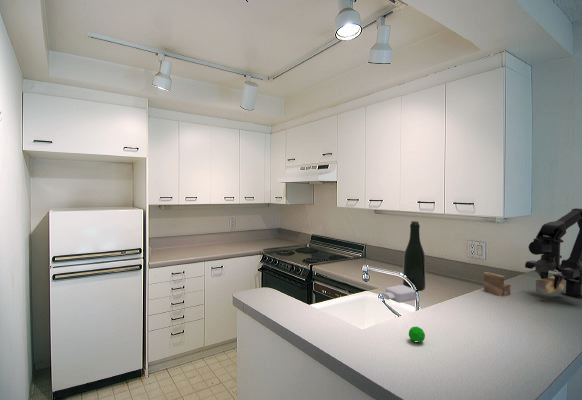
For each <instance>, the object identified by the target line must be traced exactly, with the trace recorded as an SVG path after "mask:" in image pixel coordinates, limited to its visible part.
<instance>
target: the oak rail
mask: <svg viewBox="0 0 582 400" xmlns="http://www.w3.org/2000/svg"><path fill="white" fill-rule="evenodd" d="M554 280H555V277H554V276H550V277H549V276H548V278H544V279H541V278H540V279H537V280H535V292H536V293H540V294H544V295H546V294H550V293H554V292H559V291H563V290H564V289H565V280H564V279H563V280H562V281H561V283H560V284H559V286H558V288H557V289H554Z"/></svg>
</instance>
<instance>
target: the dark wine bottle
mask: <svg viewBox="0 0 582 400" xmlns="http://www.w3.org/2000/svg"><path fill="white" fill-rule="evenodd" d="M420 227H421V226H420V223H419V221H417V220H412V221H411V223H409V228H410V229H409V238H408V239H409V240H408V242H407V245H406V248H405V250H404V254H403V263H402V264H403V266H402V275H403V274H404V275H406V276H407V278H408V279H409V280H410V281H411V282H412V283H413V284H414V285H415V287H416V289H417V291H416V292H422V291H425V290H426V284H427V283H426V282H427V280H426V279H427V277H426V276H427V273H426V272H427V271H426V269H427V268H426V265H427V264H426V253H425V250H424V248H423V246H422V243H421V239H420V238H421V237H420ZM402 285H404V286H407V287H409V288H411V286H410V285H409V284H408V283H407V282H406V281H405V280H404V279H403V278H402Z"/></svg>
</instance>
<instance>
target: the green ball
mask: <svg viewBox="0 0 582 400" xmlns="http://www.w3.org/2000/svg"><path fill="white" fill-rule="evenodd" d="M408 337H409V339H410V340H411V339H412V340H414V341H422V342H424V340H425V338H426V333H425V332H424V329H422V328H421V327H420V326H413V327H411V328H410V329H409V331H408ZM412 340H411V341H412ZM414 341H413V342H414Z"/></svg>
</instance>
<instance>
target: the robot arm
mask: <svg viewBox="0 0 582 400" xmlns="http://www.w3.org/2000/svg"><path fill="white" fill-rule="evenodd" d="M576 223H577V225H578V228H579V230H578V232H577V235H576V238H575V240H574V244H573V246H572V249H571V252H570V255H569V257H568V258H567V259H562V257H563V256H562V255H561V244H562V243H564V240H563V239H562V238H563V237H564V236H565V235H566V234H567V230H568V229H569V228H570V227H572V226H573V225H576ZM528 251H529V253H531V254H532V255H535V256H536V255H537V256H538V255H541V256H540V259H537V261H536V260H529V261H526V262H525V263H524V268H526V269H529V270H530V269H531V270H533V269H534V268H535V269H534V270H533V271H534V272H536V273H537V274H538V275H539V277H540V279H544V278H549V271H551V272H554V274H553V277H555V280H554V289H557V288H558V286H559V284H560V283H561V281H562V280H563V279H564V281H565V290H564V291H561V294H563V295H567V296H569V297H570V296H571V297H573V298H582V208H577V207H575V208H572V209H571V211H569V212H568V213H566V214H565V215H563V216H561V217H560V218H558V219H557V220H555V221H549V222H546V223H543V225H542V226H541V227H540V229H539V231H538V232H537V234H536V237H535V238H533V241H531V242H530V243H529V245H528ZM561 259H562V260H561ZM560 260H561V261H560Z"/></svg>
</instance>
